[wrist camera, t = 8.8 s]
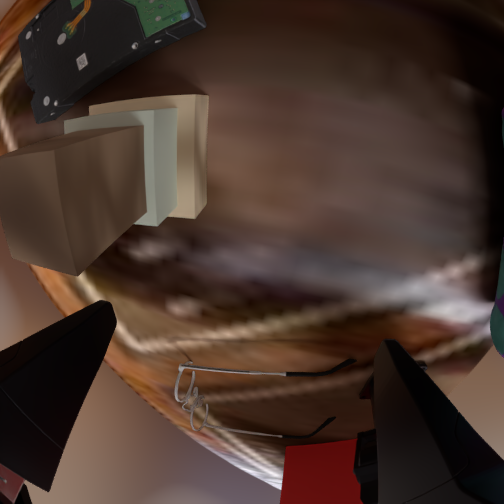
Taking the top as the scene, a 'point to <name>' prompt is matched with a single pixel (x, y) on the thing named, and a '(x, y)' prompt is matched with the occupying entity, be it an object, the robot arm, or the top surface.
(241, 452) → the top surface
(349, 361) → the eyeglasses
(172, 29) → the disk drive
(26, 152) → the walnut block
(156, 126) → the tower top
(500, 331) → the pencil case
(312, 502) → the book
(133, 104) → the tower base
